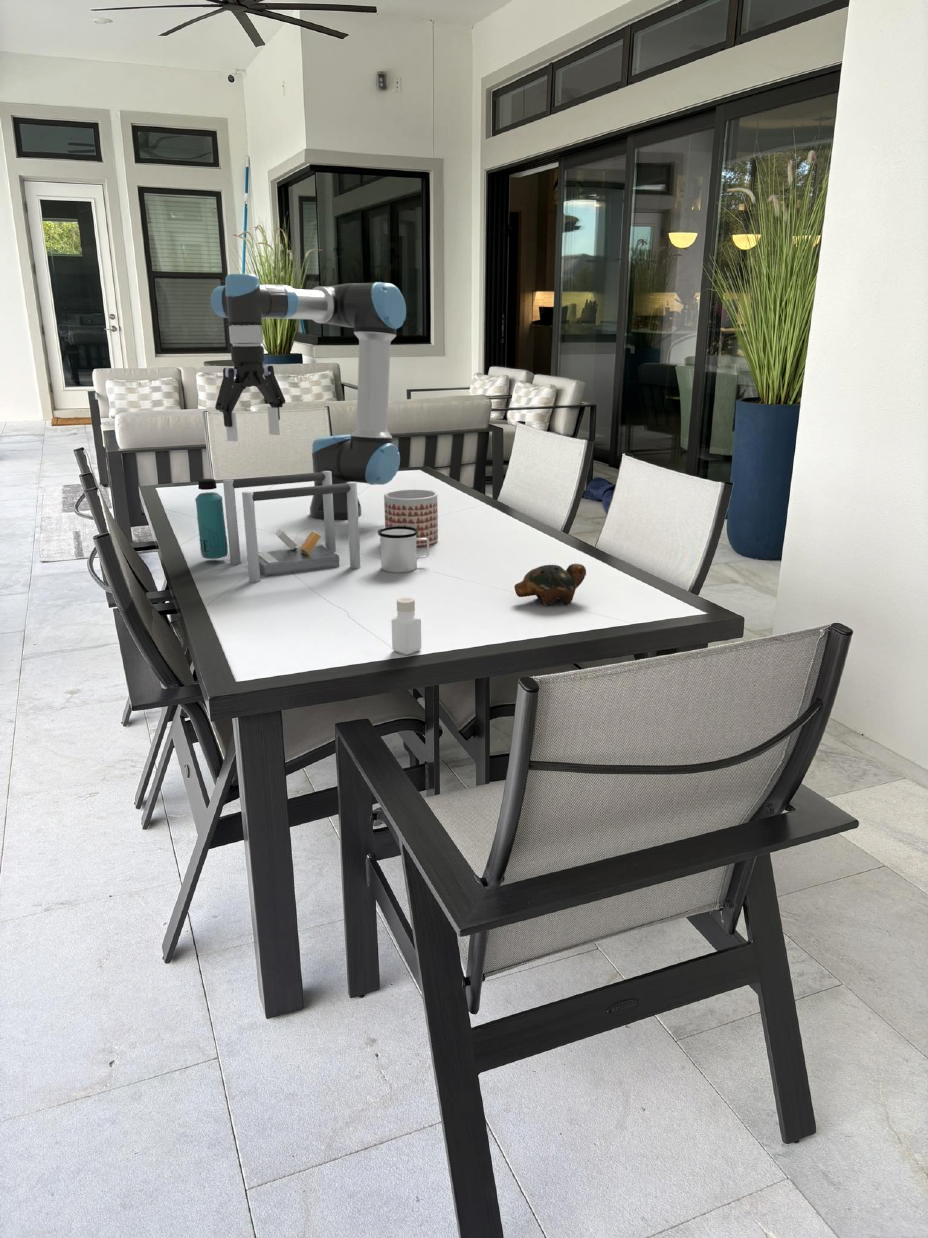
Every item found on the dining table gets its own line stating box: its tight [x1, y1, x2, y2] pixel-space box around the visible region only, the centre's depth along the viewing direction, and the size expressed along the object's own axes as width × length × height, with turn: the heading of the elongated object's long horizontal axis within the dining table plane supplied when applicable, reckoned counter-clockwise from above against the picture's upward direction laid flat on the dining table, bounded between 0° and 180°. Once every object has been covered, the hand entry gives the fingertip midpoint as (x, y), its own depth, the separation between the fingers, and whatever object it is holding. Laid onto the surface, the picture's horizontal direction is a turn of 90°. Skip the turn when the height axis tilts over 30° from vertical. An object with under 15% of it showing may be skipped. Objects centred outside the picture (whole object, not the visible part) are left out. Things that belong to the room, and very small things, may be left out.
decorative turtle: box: [514, 563, 587, 607], centre depth 184 cm, size 10×15×8 cm, turn 107°
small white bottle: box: [391, 596, 422, 656], centre depth 157 cm, size 4×4×10 cm
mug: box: [377, 526, 430, 574], centre depth 209 cm, size 12×10×9 cm
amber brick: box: [299, 530, 322, 555], centre depth 213 cm, size 2×3×6 cm
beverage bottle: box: [194, 478, 229, 560], centre depth 213 cm, size 6×7×20 cm
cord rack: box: [222, 471, 361, 583], centre depth 209 cm, size 26×19×20 cm
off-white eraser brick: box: [274, 528, 298, 550], centre depth 216 cm, size 2×3×6 cm
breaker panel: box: [258, 544, 340, 577], centre depth 212 cm, size 18×12×3 cm, turn 118°
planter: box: [383, 488, 439, 549], centre depth 232 cm, size 14×14×13 cm
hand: (254, 437), depth 214 cm, fingers open, 13 cm apart
